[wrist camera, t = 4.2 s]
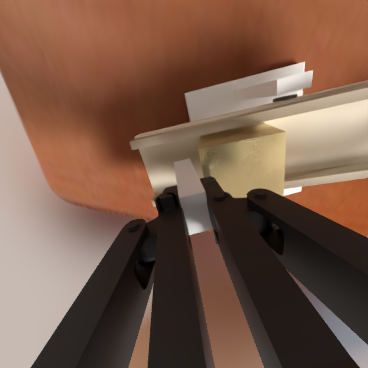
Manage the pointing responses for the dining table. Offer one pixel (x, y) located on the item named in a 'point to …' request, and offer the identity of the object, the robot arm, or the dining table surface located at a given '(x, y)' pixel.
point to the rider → (245, 159)
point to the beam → (295, 138)
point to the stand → (248, 94)
